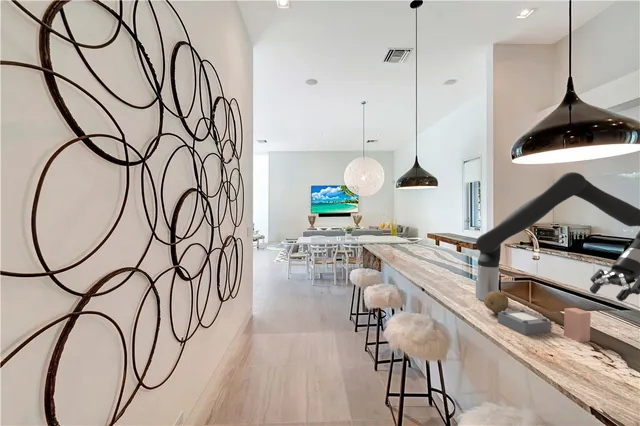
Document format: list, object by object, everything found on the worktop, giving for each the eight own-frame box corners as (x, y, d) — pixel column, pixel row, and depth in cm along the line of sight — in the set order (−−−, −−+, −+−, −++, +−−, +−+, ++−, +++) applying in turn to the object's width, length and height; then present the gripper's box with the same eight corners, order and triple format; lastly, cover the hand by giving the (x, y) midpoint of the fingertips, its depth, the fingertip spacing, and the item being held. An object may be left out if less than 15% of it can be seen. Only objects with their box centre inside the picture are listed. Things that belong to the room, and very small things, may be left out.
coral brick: (563, 335, 105) (564, 308, 104) (574, 334, 106) (574, 307, 106) (579, 342, 100) (579, 313, 99) (589, 340, 101) (590, 312, 101)
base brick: (497, 322, 116) (497, 310, 116) (521, 319, 119) (521, 308, 119) (525, 335, 105) (525, 322, 105) (550, 332, 108) (551, 319, 108)
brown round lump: (490, 317, 122) (490, 294, 122) (480, 309, 131) (480, 288, 130) (512, 318, 121) (512, 294, 121) (500, 310, 130) (501, 288, 130)
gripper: (604, 253, 112) (578, 283, 111) (651, 260, 98) (622, 294, 97) (615, 266, 113) (589, 296, 112) (663, 274, 99) (635, 309, 97)
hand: (605, 295), depth 104 cm, fingers open, 8 cm apart
